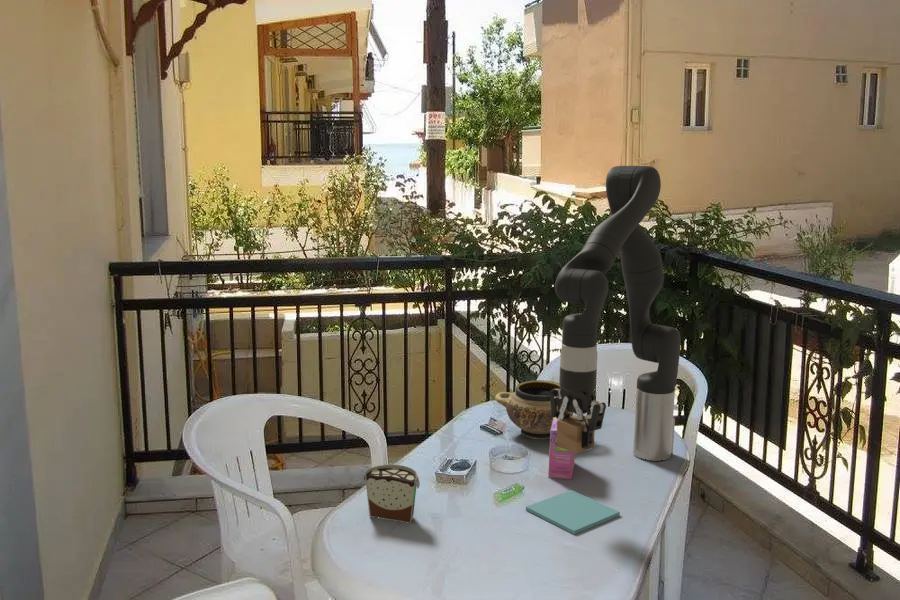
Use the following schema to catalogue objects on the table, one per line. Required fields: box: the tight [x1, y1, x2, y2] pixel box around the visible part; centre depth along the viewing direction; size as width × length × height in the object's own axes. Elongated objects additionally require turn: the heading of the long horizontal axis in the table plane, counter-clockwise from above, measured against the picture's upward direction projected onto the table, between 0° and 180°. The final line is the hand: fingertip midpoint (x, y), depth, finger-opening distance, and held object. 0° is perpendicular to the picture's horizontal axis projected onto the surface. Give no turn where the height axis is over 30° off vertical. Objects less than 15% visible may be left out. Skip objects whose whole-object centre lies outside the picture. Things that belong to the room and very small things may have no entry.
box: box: [547, 417, 576, 480], centre depth 203 cm, size 10×6×12 cm, turn 168°
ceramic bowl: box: [494, 379, 574, 440], centre depth 227 cm, size 24×18×15 cm
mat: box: [525, 489, 621, 535], centre depth 181 cm, size 14×14×1 cm
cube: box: [556, 414, 596, 454], centre depth 178 cm, size 6×6×6 cm
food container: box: [362, 464, 421, 524], centre depth 179 cm, size 12×6×10 cm, turn 71°
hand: (575, 442), depth 178 cm, fingers closed on cube, 5 cm apart
